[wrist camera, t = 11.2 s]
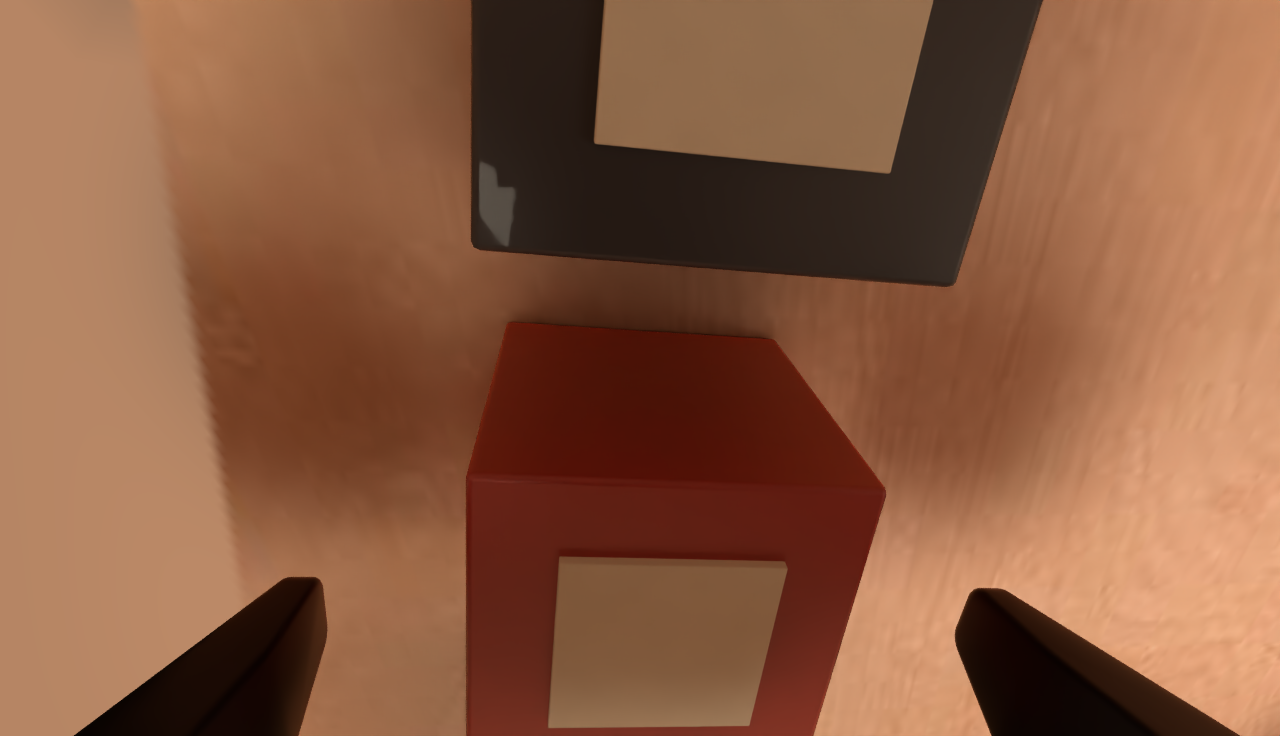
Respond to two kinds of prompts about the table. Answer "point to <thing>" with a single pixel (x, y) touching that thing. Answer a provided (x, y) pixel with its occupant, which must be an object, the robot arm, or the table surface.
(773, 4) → the charcoal block
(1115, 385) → the table surface
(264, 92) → the table surface
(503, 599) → the red cube
